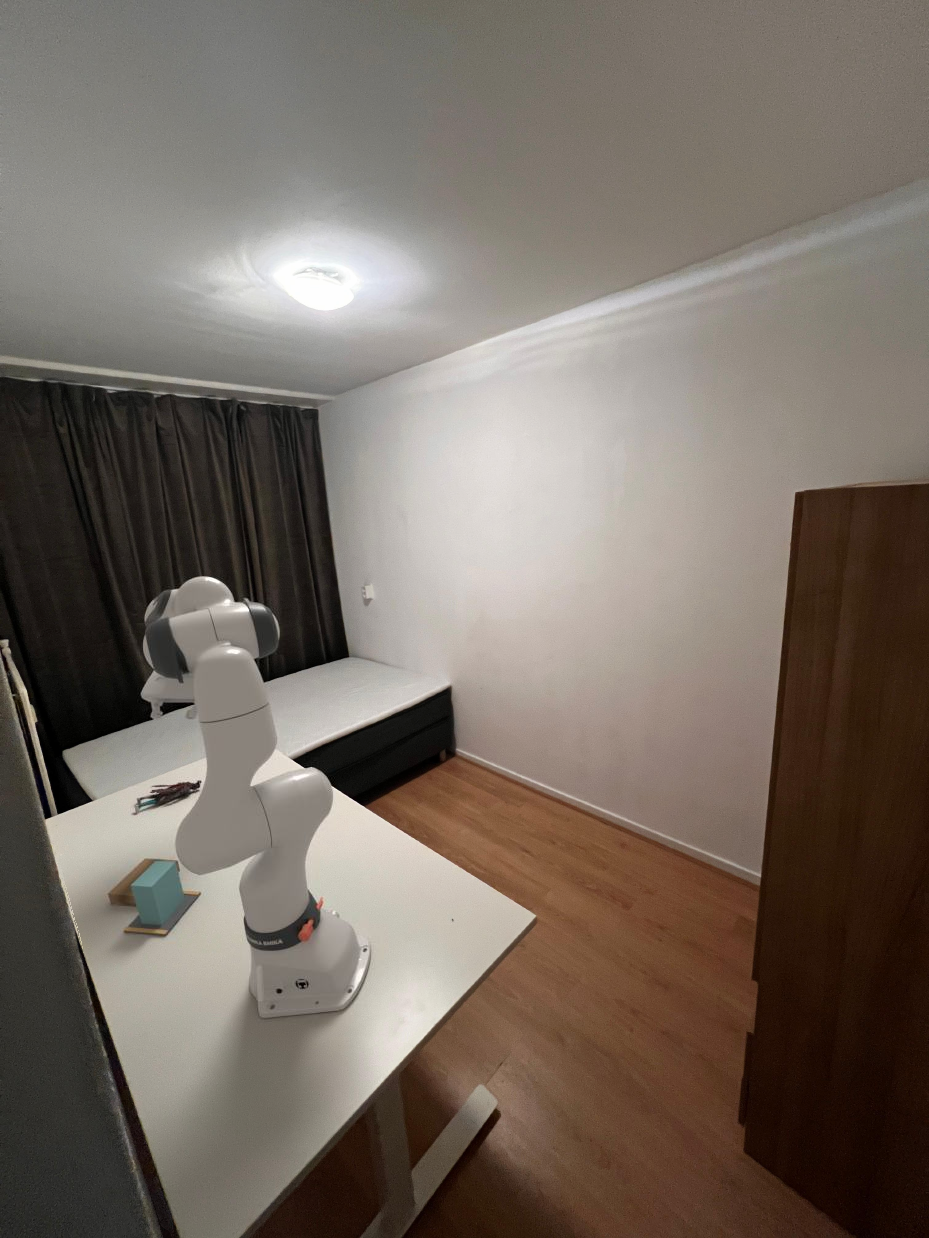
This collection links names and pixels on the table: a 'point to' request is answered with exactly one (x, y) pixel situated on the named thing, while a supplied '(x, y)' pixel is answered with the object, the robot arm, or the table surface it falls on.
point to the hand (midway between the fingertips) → (172, 718)
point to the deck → (123, 890)
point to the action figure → (167, 793)
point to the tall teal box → (158, 892)
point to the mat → (164, 929)
